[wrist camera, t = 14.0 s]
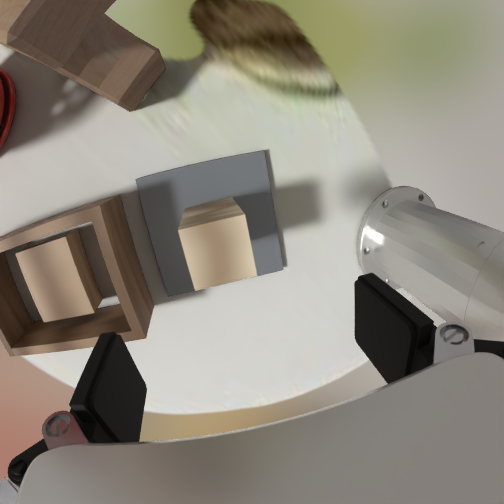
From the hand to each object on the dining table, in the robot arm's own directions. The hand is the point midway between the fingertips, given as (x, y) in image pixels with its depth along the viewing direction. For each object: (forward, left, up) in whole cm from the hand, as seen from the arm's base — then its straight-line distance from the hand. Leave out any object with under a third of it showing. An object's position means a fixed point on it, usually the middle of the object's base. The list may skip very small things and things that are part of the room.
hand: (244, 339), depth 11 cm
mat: (0, 0, -18) cm, 18 cm away
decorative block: (+7, -18, -19) cm, 27 cm away
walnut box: (+17, +1, -18) cm, 25 cm away
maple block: (0, 0, -18) cm, 18 cm away
